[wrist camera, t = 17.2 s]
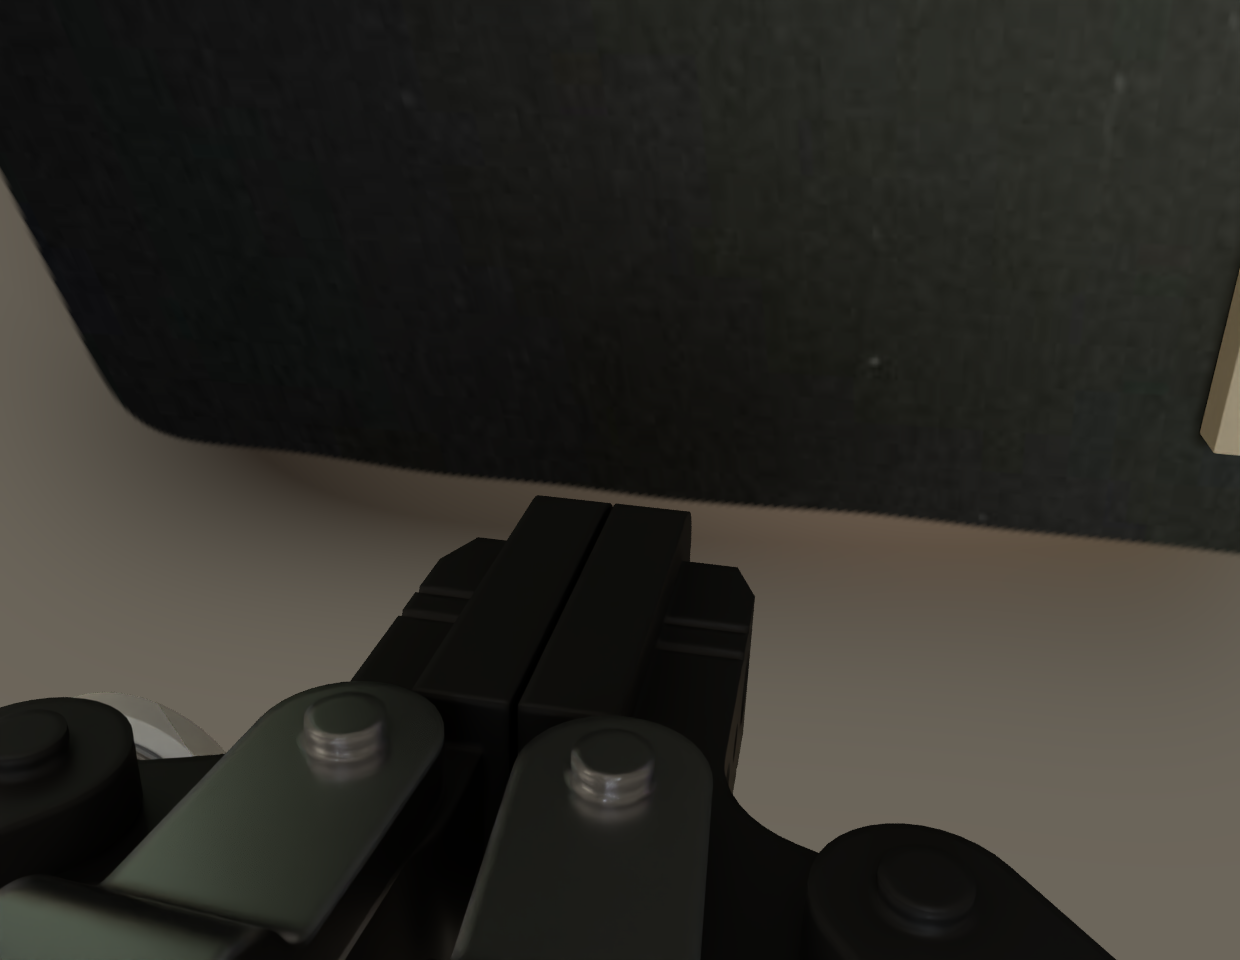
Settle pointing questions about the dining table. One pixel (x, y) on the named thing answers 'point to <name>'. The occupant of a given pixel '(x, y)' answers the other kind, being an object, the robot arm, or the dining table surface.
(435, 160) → the dining table surface
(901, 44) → the dining table surface
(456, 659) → the robot arm
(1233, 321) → the panel
